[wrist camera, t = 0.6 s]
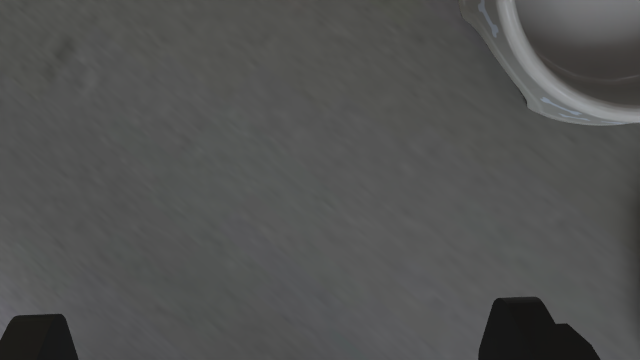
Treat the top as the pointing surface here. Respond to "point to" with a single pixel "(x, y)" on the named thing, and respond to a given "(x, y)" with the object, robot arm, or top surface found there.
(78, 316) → the top surface
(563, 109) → the dog bowl
